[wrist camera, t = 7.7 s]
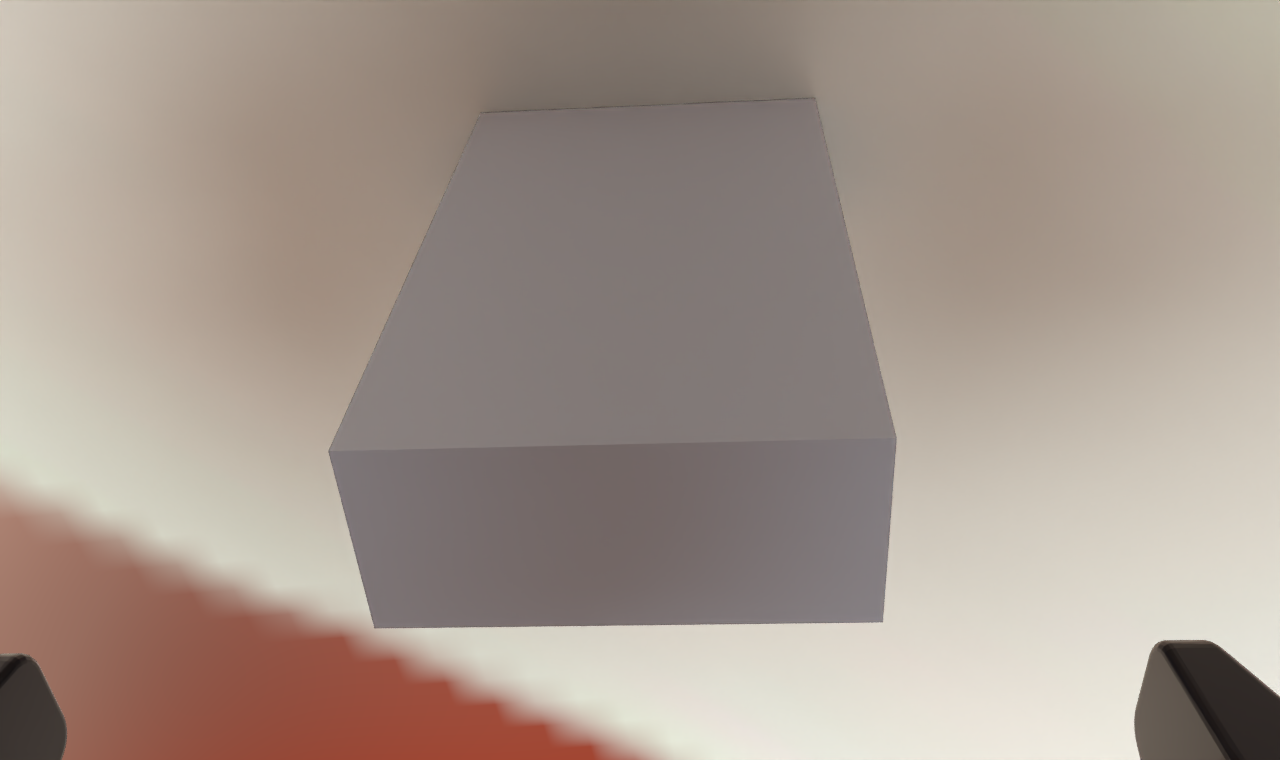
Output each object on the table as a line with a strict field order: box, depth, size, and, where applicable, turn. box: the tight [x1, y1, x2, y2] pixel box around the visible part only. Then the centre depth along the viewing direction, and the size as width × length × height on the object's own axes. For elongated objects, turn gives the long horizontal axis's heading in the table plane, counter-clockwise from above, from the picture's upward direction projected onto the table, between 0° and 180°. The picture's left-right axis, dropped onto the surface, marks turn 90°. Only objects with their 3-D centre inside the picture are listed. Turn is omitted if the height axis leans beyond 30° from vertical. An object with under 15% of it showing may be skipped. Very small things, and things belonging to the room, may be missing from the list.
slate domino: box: [329, 98, 896, 628], centre depth 14 cm, size 5×2×8 cm, turn 93°
